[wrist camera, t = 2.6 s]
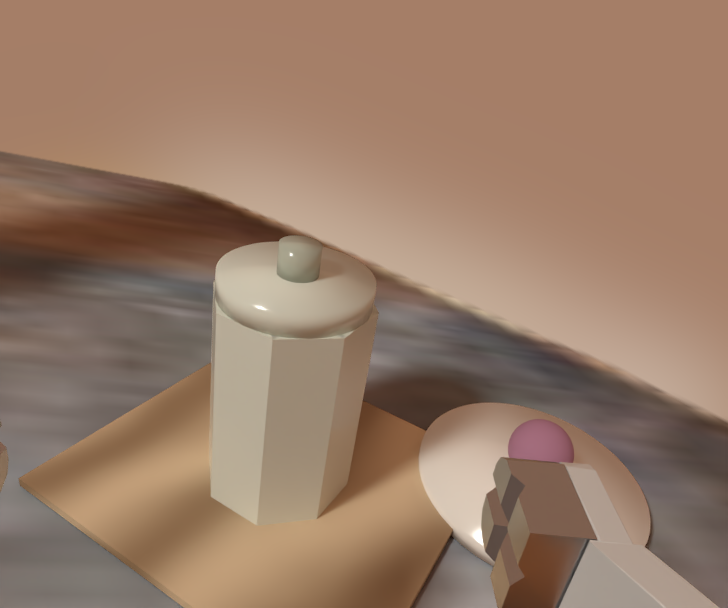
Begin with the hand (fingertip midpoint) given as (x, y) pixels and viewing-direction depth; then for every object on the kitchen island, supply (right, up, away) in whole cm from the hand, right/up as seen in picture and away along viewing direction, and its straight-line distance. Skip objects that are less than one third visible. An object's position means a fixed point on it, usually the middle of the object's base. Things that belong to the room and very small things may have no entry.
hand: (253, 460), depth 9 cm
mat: (-2, -5, +17) cm, 18 cm away
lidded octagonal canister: (-2, -5, +17) cm, 17 cm away
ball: (+10, -6, +18) cm, 22 cm away
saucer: (+10, -6, +19) cm, 22 cm away
